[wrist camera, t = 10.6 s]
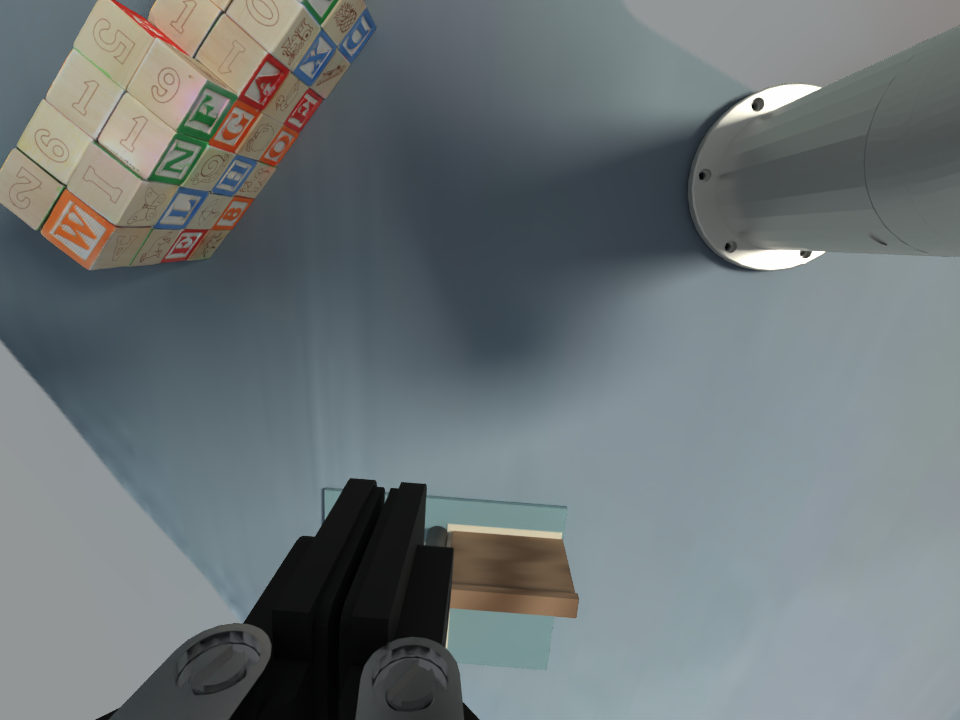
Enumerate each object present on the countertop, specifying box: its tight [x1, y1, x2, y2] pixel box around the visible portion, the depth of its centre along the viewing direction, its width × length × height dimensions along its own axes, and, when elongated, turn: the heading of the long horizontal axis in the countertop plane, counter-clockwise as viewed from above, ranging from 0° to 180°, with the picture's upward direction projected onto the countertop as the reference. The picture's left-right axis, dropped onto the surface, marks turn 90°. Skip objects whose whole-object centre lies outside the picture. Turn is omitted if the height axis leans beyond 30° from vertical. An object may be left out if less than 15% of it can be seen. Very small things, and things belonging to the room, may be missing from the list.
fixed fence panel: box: [425, 526, 579, 618], centre depth 39 cm, size 12×2×8 cm, turn 86°
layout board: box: [325, 488, 567, 670], centre depth 45 cm, size 21×17×1 cm
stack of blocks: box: [0, 0, 376, 270], centre depth 30 cm, size 21×6×12 cm, turn 139°
